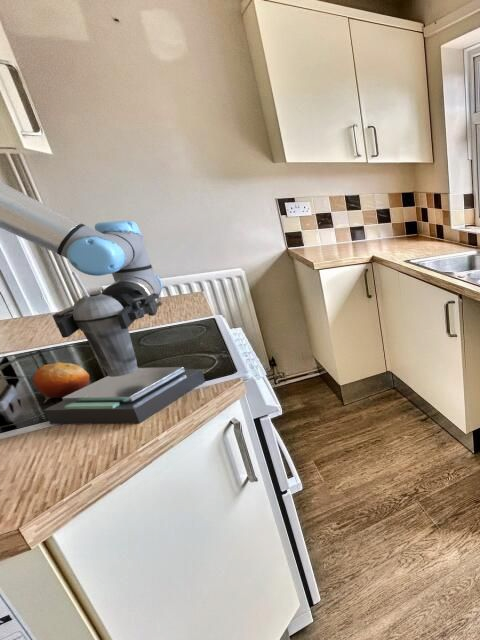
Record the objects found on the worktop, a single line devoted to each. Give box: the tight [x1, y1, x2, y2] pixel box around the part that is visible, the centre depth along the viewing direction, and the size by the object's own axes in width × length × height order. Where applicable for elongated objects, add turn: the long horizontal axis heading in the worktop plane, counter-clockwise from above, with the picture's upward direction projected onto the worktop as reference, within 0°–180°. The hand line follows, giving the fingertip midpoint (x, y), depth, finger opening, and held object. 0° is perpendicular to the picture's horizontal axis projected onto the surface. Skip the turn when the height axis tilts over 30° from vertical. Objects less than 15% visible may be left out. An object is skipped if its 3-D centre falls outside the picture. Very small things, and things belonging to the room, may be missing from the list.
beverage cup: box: [71, 271, 139, 377], centre depth 79 cm, size 7×7×20 cm
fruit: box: [32, 361, 90, 404], centre depth 87 cm, size 8×8×8 cm
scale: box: [43, 368, 206, 425], centre depth 84 cm, size 17×17×4 cm
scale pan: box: [61, 366, 185, 402], centre depth 83 cm, size 13×13×1 cm
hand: (92, 325), depth 74 cm, fingers closed on beverage cup, 7 cm apart
